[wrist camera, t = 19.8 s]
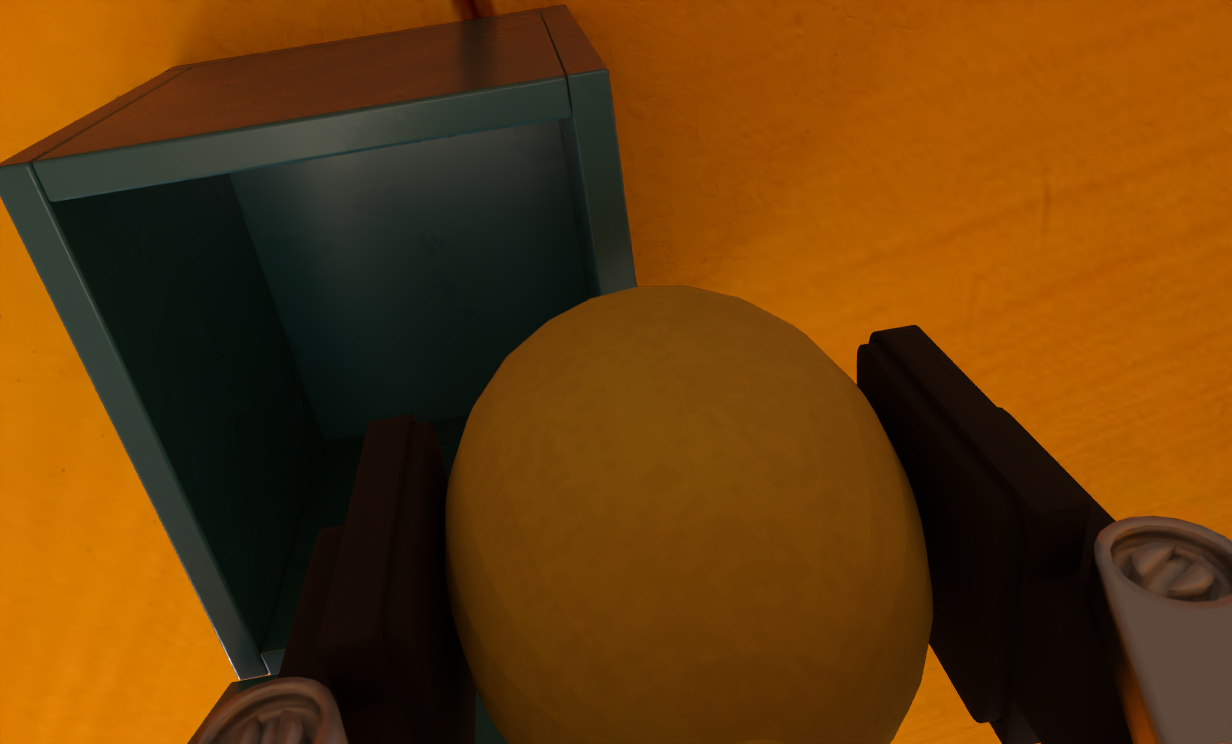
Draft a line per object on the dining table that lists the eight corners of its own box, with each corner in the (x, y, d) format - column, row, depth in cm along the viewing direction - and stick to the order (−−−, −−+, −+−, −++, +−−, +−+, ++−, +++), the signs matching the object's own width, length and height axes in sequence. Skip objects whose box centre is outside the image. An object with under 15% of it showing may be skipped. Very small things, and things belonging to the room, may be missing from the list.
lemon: (863, 343, 15) (1201, 760, 8) (641, 555, 16) (751, 1060, 9) (614, 127, 12) (767, 433, 5) (386, 398, 14) (277, 903, 7)
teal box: (171, 66, 26) (-15, 169, 16) (565, 4, 26) (608, 68, 17) (312, 450, 32) (238, 682, 23) (624, 394, 33) (678, 598, 23)
